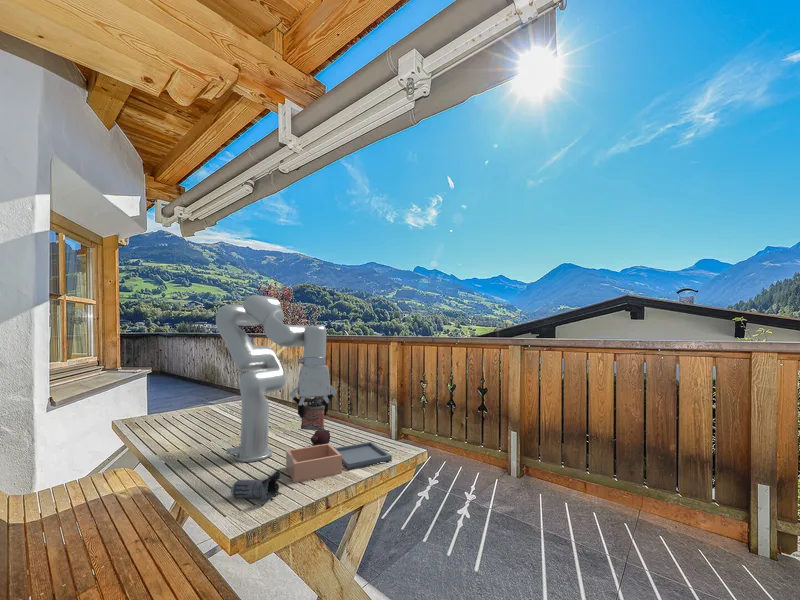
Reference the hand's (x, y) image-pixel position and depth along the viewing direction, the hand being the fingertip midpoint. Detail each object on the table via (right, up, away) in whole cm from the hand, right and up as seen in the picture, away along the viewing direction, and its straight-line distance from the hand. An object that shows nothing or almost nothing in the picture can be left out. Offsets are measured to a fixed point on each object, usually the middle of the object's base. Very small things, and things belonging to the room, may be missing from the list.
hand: (312, 415), depth 114 cm
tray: (+15, -18, +9) cm, 25 cm away
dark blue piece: (-11, -16, -21) cm, 29 cm away
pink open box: (+1, -17, -2) cm, 18 cm away
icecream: (-2, -20, +22) cm, 30 cm away
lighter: (0, -5, 0) cm, 5 cm away
